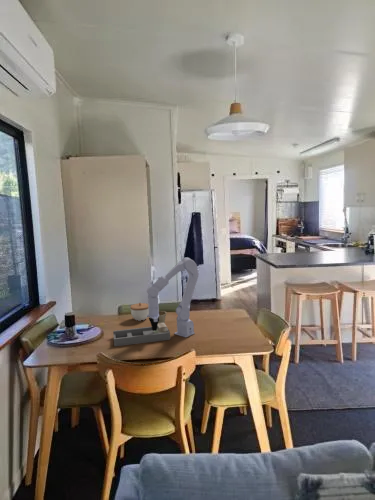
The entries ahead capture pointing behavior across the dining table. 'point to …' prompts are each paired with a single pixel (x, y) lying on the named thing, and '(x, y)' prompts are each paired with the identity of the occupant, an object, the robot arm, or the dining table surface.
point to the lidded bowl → (139, 311)
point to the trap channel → (144, 336)
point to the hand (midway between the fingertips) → (154, 330)
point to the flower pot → (162, 316)
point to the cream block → (161, 328)
